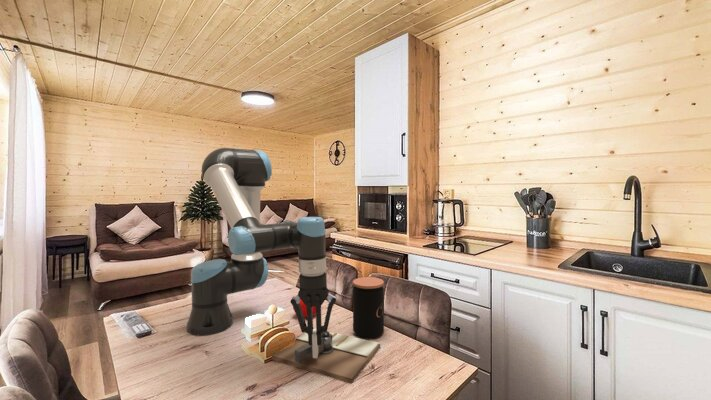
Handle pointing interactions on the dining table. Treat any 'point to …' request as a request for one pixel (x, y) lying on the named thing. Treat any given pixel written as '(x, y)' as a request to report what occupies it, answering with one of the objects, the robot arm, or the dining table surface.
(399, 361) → the dining table surface
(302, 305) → the tomato
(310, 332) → the robot arm
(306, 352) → the swing bar
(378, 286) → the coffee jar
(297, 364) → the lock board
